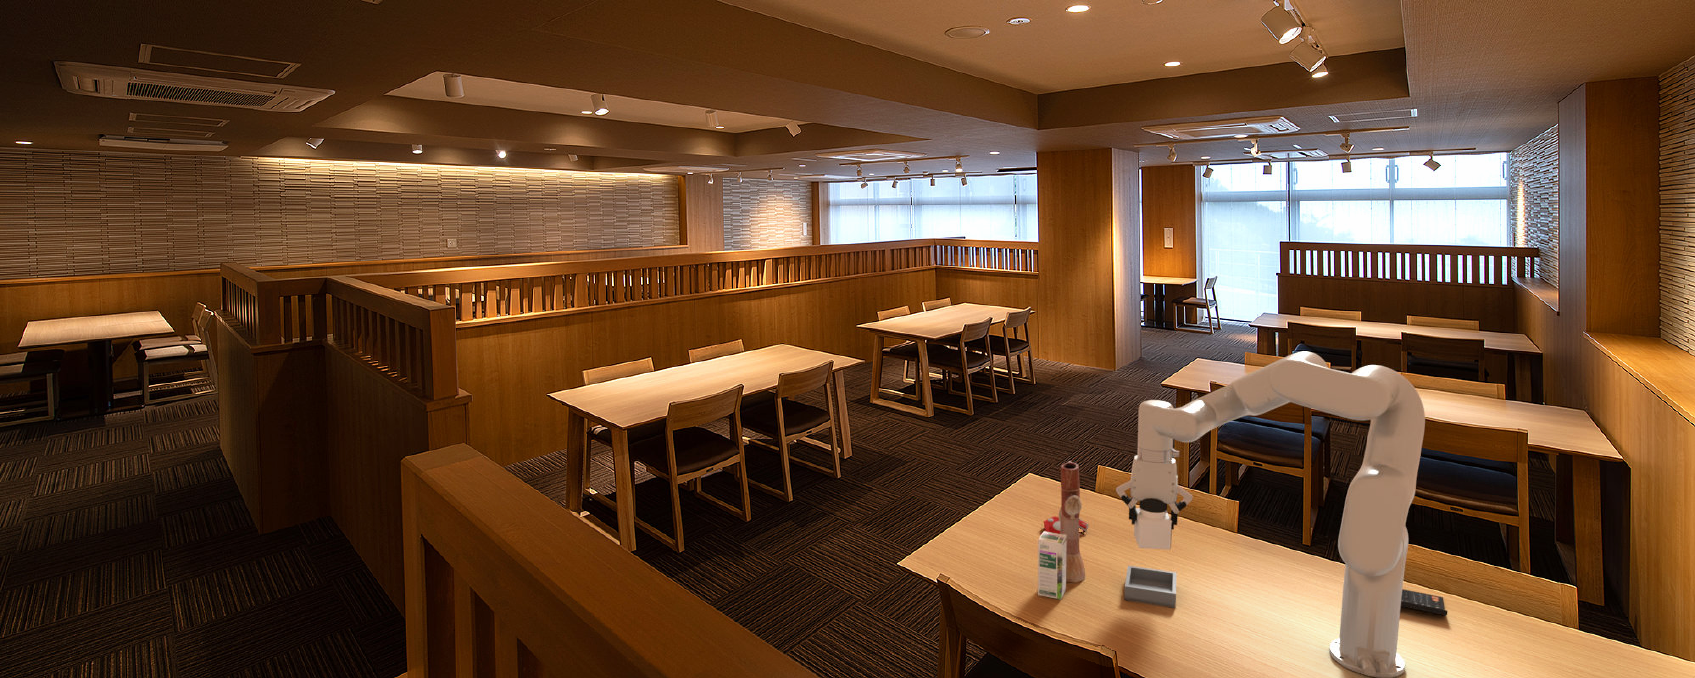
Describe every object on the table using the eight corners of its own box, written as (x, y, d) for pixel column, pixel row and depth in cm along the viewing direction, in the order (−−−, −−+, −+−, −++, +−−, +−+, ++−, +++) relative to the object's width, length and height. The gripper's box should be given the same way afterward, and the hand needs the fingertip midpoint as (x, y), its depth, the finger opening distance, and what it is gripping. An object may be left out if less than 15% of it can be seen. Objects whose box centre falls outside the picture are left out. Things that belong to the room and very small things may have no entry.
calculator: (1442, 600, 175) (1443, 588, 175) (1446, 624, 166) (1447, 611, 166) (1392, 590, 181) (1393, 578, 180) (1393, 612, 171) (1394, 600, 171)
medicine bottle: (1171, 550, 177) (1173, 501, 175) (1138, 548, 179) (1140, 499, 177) (1164, 536, 184) (1166, 489, 182) (1133, 535, 186) (1135, 488, 183)
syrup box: (1037, 595, 184) (1037, 539, 182) (1043, 584, 189) (1043, 529, 187) (1061, 600, 182) (1061, 543, 179) (1066, 589, 187) (1067, 533, 184)
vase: (1057, 566, 199) (1058, 455, 194) (1086, 570, 196) (1088, 458, 191) (1052, 585, 189) (1053, 469, 184) (1083, 589, 186) (1084, 472, 181)
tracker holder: (1058, 540, 212) (1035, 519, 220) (1058, 551, 214) (1035, 531, 222) (1092, 522, 216) (1068, 502, 224) (1092, 533, 218) (1068, 514, 226)
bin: (1175, 608, 176) (1176, 593, 176) (1124, 599, 181) (1124, 586, 180) (1176, 585, 186) (1176, 572, 186) (1127, 578, 191) (1128, 565, 190)
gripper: (1195, 452, 178) (1192, 523, 181) (1116, 445, 184) (1115, 514, 187) (1196, 462, 171) (1193, 536, 174) (1113, 455, 178) (1112, 526, 181)
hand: (1152, 524), depth 181 cm, fingers closed on medicine bottle, 8 cm apart
